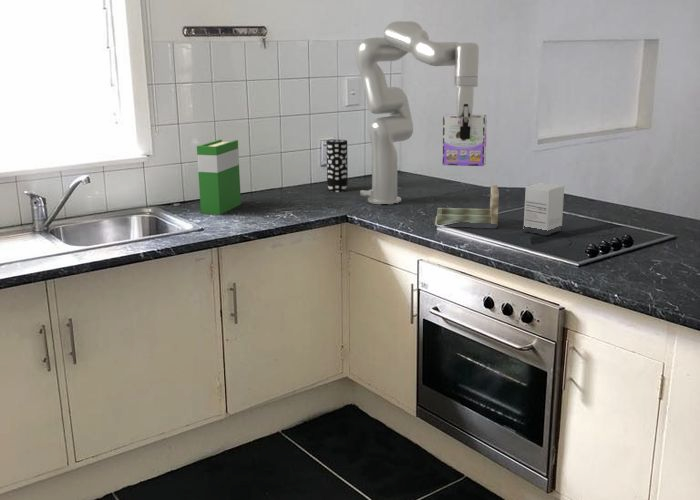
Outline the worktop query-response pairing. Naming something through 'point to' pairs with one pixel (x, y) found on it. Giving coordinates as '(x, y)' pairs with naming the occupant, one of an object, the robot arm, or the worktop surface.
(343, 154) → the white-spotted black cylinder
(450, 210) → the khaki l-shaped bracket
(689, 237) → the worktop surface
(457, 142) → the candy box
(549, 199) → the supplement box
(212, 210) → the hardback book
